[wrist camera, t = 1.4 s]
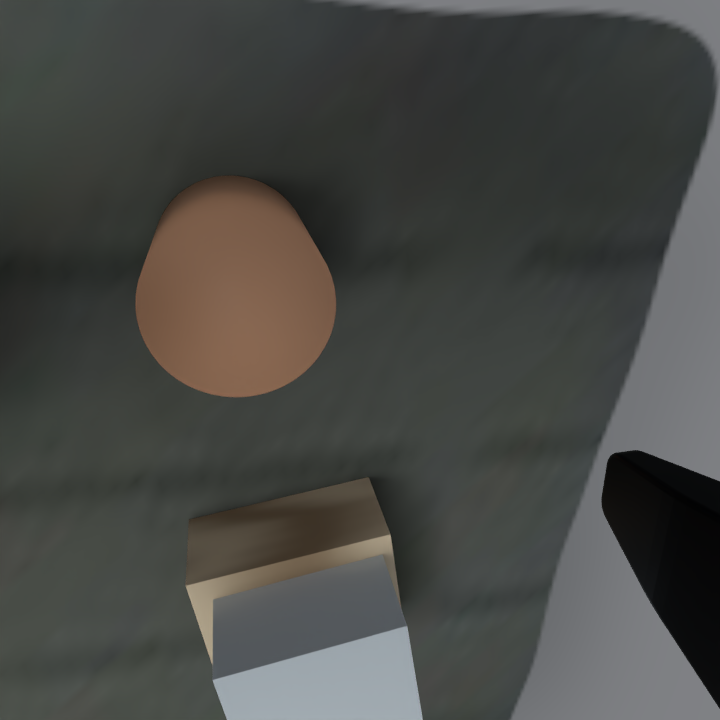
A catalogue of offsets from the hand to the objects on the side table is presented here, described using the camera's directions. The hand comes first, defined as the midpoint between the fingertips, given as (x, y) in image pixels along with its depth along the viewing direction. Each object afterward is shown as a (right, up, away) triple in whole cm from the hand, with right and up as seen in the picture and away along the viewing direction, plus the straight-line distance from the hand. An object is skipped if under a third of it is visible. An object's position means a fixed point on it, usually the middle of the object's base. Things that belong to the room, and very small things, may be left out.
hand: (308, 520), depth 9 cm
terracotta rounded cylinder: (-3, +5, +10) cm, 12 cm away
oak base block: (-2, -6, +16) cm, 17 cm away
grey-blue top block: (-1, -7, +13) cm, 15 cm away
